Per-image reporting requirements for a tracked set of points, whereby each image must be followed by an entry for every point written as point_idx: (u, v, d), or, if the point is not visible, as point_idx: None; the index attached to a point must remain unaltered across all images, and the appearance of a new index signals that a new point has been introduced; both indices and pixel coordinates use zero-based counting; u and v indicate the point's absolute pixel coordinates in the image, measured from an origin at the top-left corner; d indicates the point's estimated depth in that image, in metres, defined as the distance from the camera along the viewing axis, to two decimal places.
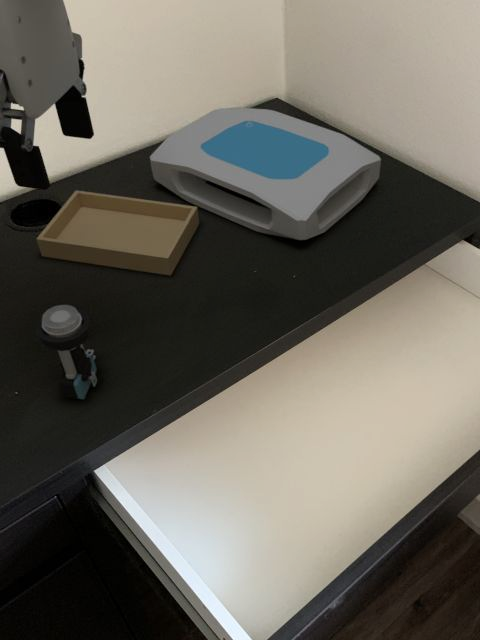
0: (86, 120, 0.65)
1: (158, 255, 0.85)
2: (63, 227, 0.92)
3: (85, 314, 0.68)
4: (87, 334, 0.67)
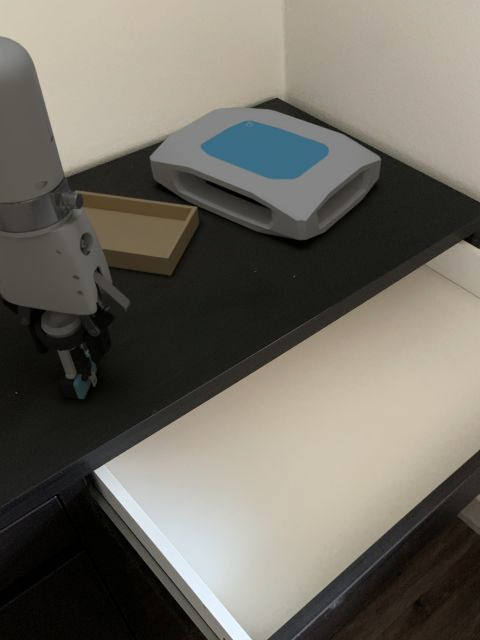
0: (89, 349, 0.68)
1: (158, 255, 0.85)
2: None
3: None
4: None
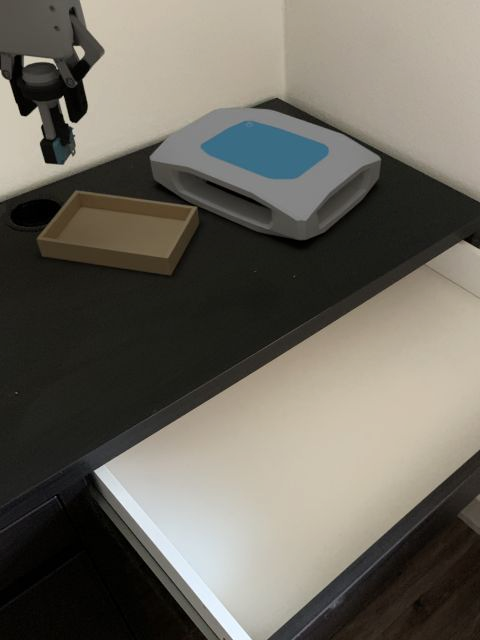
0: (66, 105, 0.73)
1: (158, 255, 0.85)
2: (63, 227, 0.92)
3: None
4: None
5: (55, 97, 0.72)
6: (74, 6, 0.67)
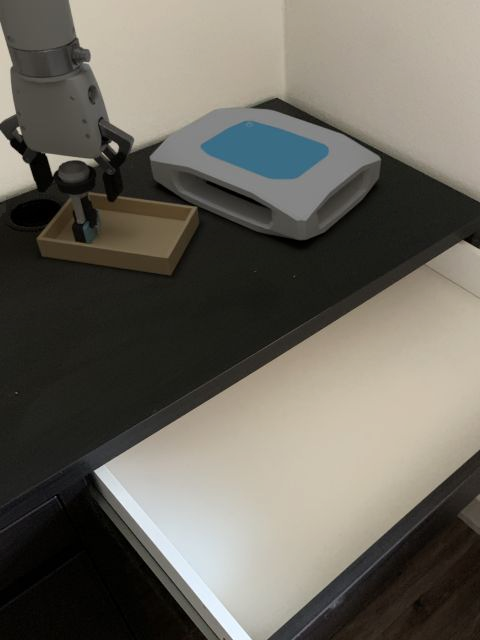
0: (105, 188, 0.84)
1: (158, 255, 0.85)
2: (63, 227, 0.92)
3: (92, 168, 0.86)
4: (94, 183, 0.85)
5: (86, 190, 0.85)
6: (102, 116, 0.79)
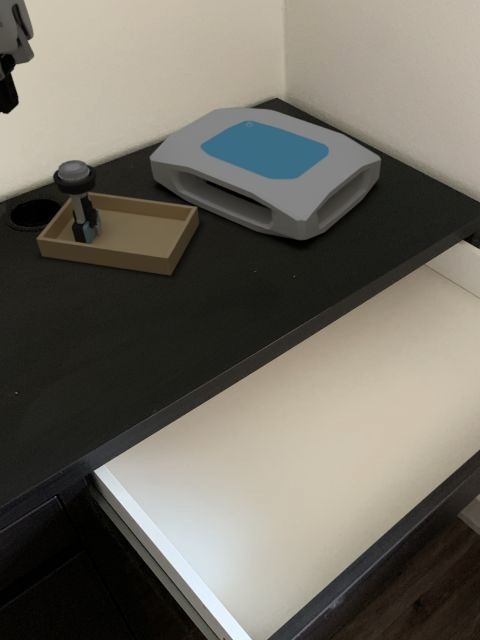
0: None
1: (158, 255, 0.85)
2: (63, 227, 0.92)
3: (92, 168, 0.86)
4: (94, 183, 0.85)
5: (86, 190, 0.85)
6: (17, 3, 0.72)
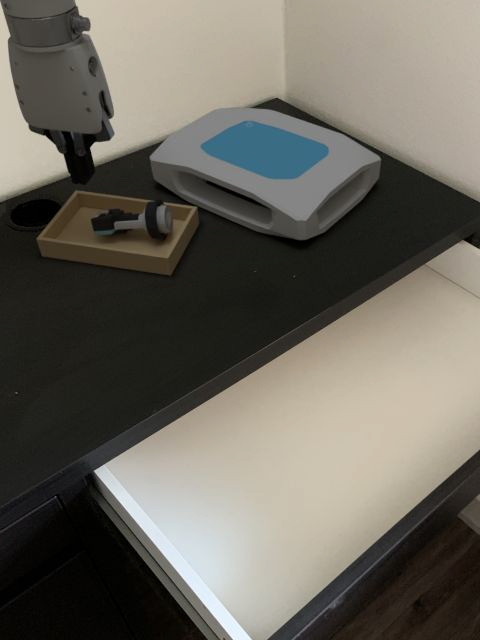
0: (76, 170, 0.83)
1: (158, 255, 0.85)
2: (63, 227, 0.92)
3: None
4: None
5: (151, 236, 0.89)
6: (103, 89, 0.77)
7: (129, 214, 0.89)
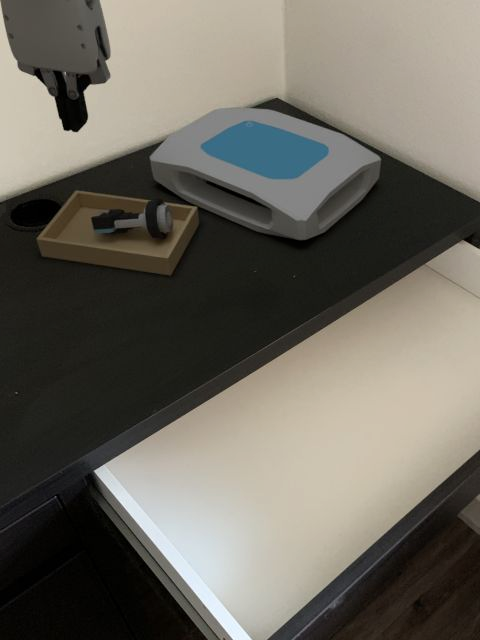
0: (68, 116, 0.78)
1: (158, 255, 0.85)
2: (63, 227, 0.92)
3: None
4: None
5: (151, 235, 0.89)
6: (99, 25, 0.71)
7: (129, 213, 0.89)
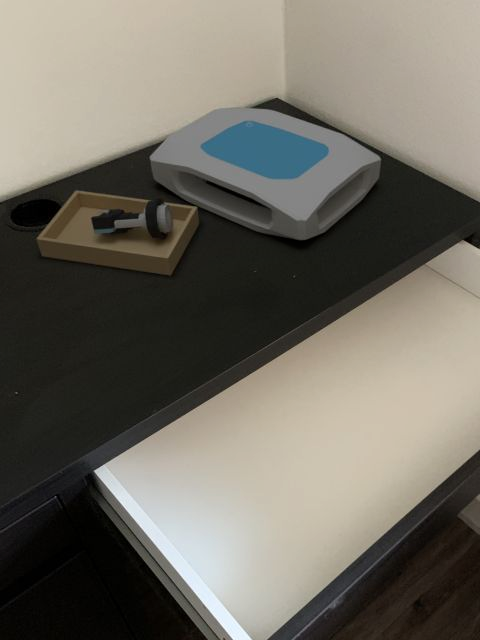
0: None
1: (158, 255, 0.85)
2: (63, 227, 0.92)
3: None
4: None
5: (151, 235, 0.89)
6: None
7: (129, 213, 0.89)
